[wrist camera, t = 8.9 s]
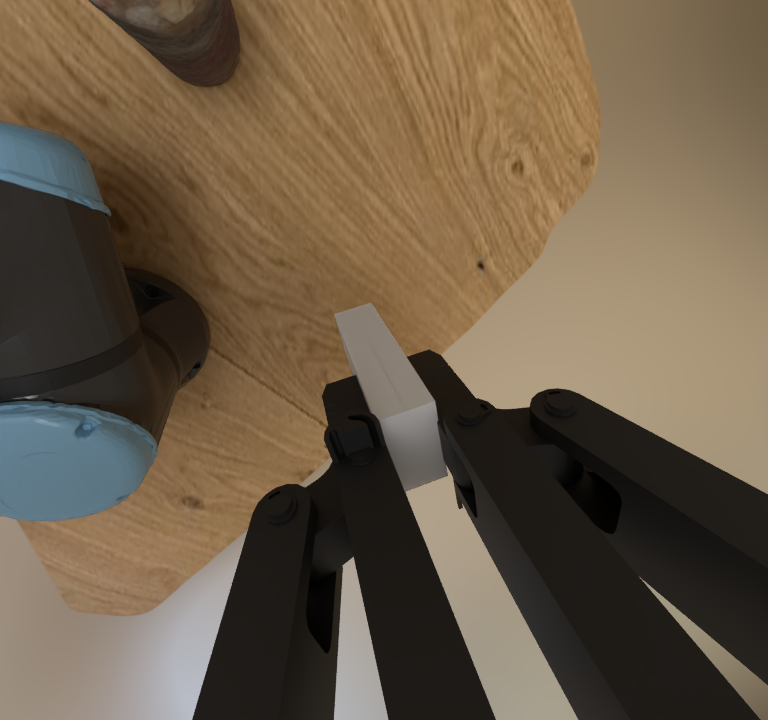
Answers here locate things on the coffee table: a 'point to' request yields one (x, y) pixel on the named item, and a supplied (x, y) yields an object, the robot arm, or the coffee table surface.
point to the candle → (182, 35)
